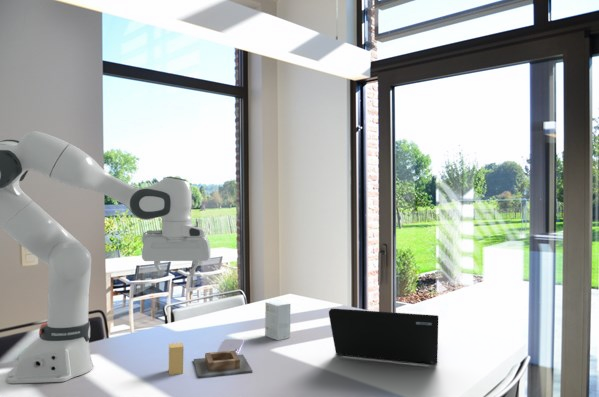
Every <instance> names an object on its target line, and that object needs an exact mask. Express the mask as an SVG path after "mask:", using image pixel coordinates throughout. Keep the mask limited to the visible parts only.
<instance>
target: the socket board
mask: <svg viewBox="0 0 599 397" xmlns="http://www.w3.org/2000/svg"><path fill="white" fill-rule="evenodd" d="M193 364H194V367H195V370H196V374H197V377H198V379H203V378H212V377H221V376H231V375H241V374H249V373H253V369H252V367H251V366H250V364H249V362H248V361H247V359H246V357H245V355H244V354H236V352H235V350H234V351H223V352H217V351H213V352H204V357H202V358H200V357H199V358H193Z"/></svg>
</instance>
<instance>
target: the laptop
mask: <svg viewBox="0 0 599 397" xmlns="http://www.w3.org/2000/svg"><path fill="white" fill-rule="evenodd" d="M328 315H329V323H330V328H331V333H332V339H333V344H334V350H335V354H337V355H339V356H347V357H360V358H368V359H369V358H370V359H378V360H391V361H393V360H394V361H402V362H414V363H424V364H432V365H433V364H437V363H438V348H439V346H438V345H439V315H435V314H421V313H418V314H417V313H409V312H408V313H406V312H393V311H392V312H391V311H376V310H375V311H374V310H365V309H364V310H361V309H360V310H359V309H348V308H347V309H345V308H330V310H328Z"/></svg>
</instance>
